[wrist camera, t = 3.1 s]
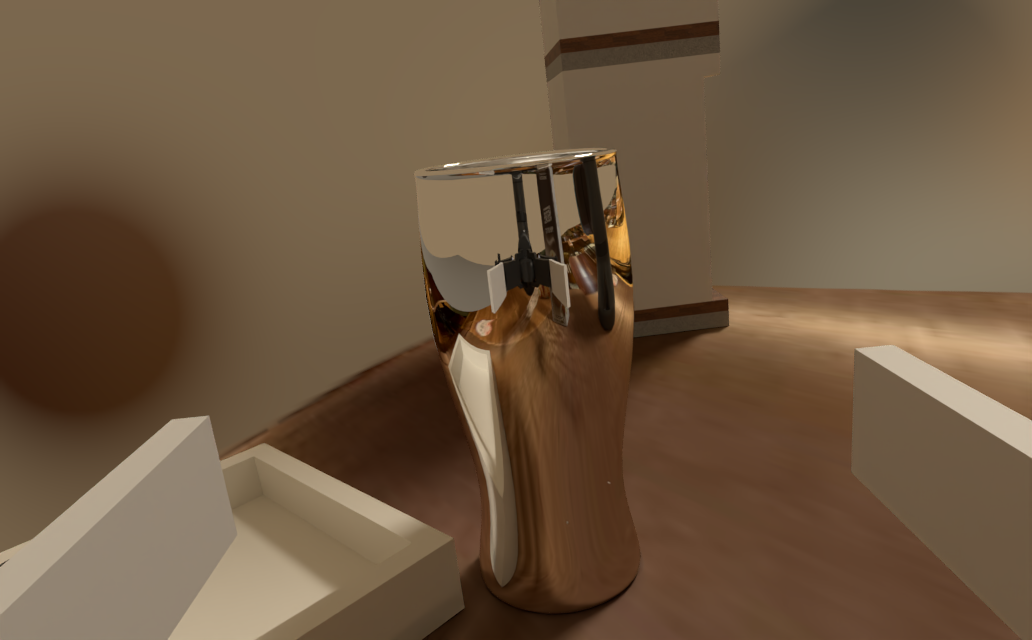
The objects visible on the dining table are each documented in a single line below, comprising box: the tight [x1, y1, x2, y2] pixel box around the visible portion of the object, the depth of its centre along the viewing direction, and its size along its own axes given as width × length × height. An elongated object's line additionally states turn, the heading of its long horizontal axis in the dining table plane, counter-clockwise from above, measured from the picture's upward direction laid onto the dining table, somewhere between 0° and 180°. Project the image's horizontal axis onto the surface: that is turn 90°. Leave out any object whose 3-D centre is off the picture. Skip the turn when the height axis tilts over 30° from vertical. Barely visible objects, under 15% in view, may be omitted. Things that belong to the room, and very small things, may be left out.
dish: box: [0, 443, 465, 640], centre depth 24 cm, size 14×14×3 cm
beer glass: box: [414, 147, 641, 614], centre depth 24 cm, size 7×7×15 cm
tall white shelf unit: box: [539, 0, 729, 337], centre depth 52 cm, size 11×11×35 cm
